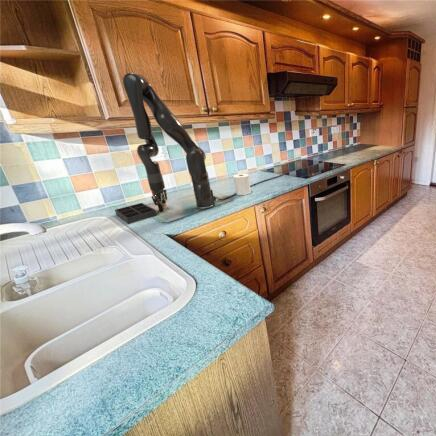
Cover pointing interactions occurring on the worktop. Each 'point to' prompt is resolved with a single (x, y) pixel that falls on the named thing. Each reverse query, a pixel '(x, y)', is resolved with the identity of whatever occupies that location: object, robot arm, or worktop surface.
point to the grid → (135, 212)
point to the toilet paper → (242, 184)
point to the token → (164, 206)
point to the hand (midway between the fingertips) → (163, 209)
